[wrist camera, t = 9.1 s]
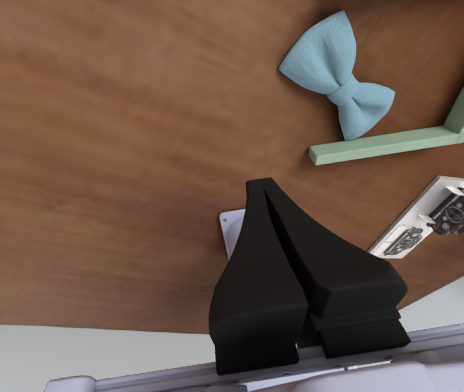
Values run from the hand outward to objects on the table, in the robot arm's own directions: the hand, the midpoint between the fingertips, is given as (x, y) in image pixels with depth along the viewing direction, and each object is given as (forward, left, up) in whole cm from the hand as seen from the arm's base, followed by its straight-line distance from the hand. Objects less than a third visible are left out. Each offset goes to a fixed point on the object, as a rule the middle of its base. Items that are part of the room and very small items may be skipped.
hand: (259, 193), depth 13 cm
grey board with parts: (-18, -22, -9) cm, 30 cm away
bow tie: (+2, -8, -9) cm, 12 cm away
